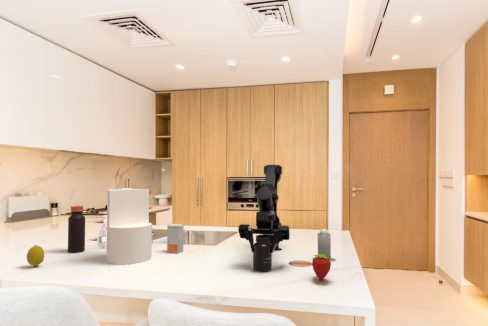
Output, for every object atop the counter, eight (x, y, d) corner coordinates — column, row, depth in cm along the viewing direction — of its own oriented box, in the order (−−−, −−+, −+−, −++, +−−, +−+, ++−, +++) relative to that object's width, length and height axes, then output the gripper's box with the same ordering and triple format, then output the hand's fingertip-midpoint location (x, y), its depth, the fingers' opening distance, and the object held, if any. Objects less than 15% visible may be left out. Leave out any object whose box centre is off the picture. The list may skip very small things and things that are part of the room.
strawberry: (330, 277, 112) (329, 247, 112) (331, 285, 104) (331, 252, 104) (311, 276, 113) (311, 246, 113) (312, 284, 105) (312, 251, 106)
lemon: (25, 269, 121) (26, 247, 121) (27, 265, 126) (27, 244, 126) (43, 267, 124) (44, 245, 124) (44, 264, 129) (45, 243, 129)
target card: (278, 261, 133) (278, 259, 133) (327, 257, 140) (327, 255, 140) (292, 269, 121) (292, 267, 121) (345, 264, 128) (345, 263, 128)
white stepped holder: (98, 259, 136) (99, 189, 137) (137, 252, 149) (138, 188, 150) (119, 267, 124) (120, 191, 125) (159, 258, 137) (160, 189, 138)
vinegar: (87, 249, 153) (88, 205, 154) (79, 253, 146) (79, 207, 147) (73, 249, 154) (74, 205, 154) (64, 253, 147) (65, 207, 147)
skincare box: (166, 252, 148) (166, 225, 148) (172, 250, 152) (172, 223, 152) (178, 253, 146) (178, 225, 146) (183, 251, 150) (183, 224, 150)
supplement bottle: (270, 272, 117) (270, 238, 117) (251, 271, 118) (251, 237, 118) (273, 267, 123) (272, 234, 124) (254, 266, 125) (254, 233, 125)
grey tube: (315, 258, 135) (315, 228, 136) (326, 257, 137) (326, 227, 137) (321, 261, 130) (321, 230, 131) (333, 260, 132) (332, 229, 132)
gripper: (239, 202, 127) (232, 237, 116) (289, 203, 123) (287, 239, 112) (243, 220, 134) (237, 255, 123) (290, 222, 131) (288, 257, 120)
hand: (262, 251), depth 119 cm, fingers closed on supplement bottle, 7 cm apart
